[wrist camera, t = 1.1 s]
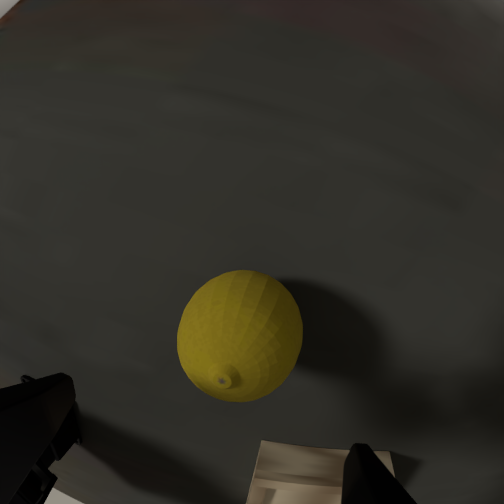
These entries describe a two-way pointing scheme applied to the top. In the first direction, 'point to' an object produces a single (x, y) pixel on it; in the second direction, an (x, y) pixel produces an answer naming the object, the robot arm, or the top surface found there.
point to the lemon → (240, 336)
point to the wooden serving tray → (300, 474)
